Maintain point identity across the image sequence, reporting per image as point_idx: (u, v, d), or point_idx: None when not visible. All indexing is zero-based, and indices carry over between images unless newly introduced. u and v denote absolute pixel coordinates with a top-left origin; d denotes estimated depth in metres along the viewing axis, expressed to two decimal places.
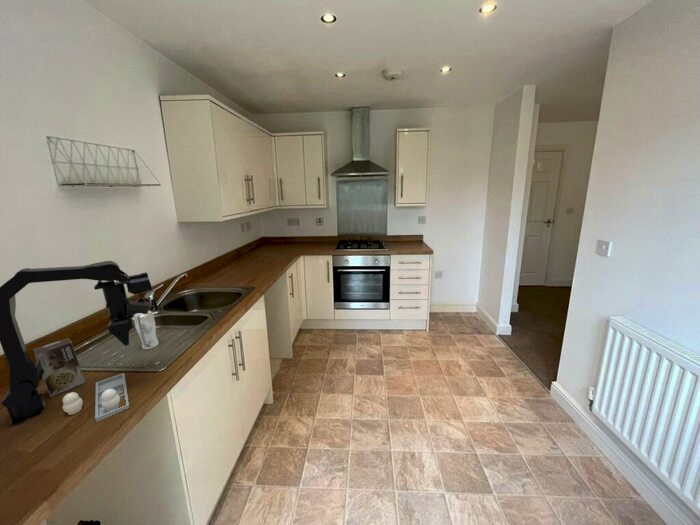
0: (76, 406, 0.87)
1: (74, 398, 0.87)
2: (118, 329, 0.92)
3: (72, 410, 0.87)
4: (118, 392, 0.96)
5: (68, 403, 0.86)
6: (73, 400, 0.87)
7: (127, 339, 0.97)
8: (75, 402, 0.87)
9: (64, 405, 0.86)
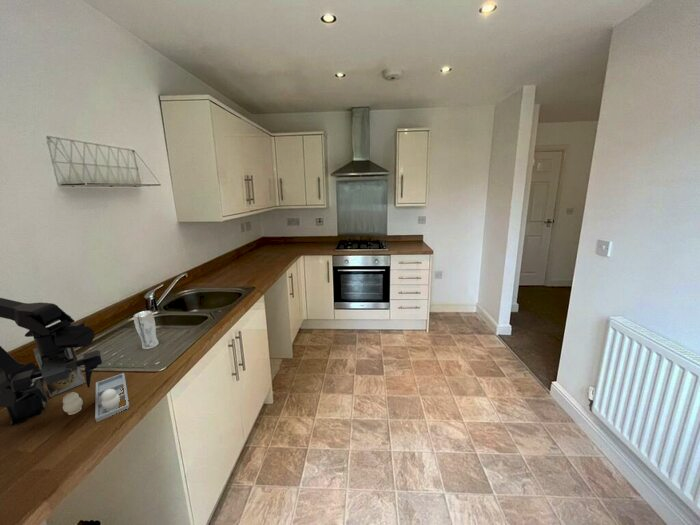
0: (76, 406, 0.87)
1: (74, 398, 0.87)
2: None
3: (72, 410, 0.87)
4: (118, 392, 0.96)
5: (68, 403, 0.86)
6: (73, 400, 0.87)
7: None
8: (75, 402, 0.87)
9: (64, 405, 0.86)
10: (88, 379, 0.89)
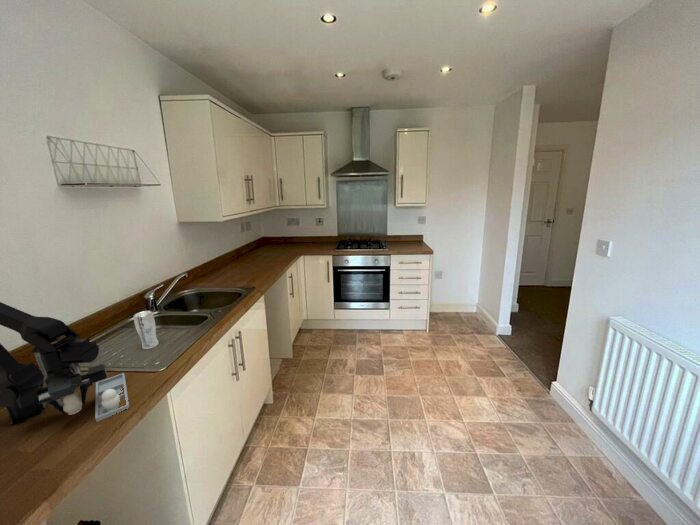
0: (76, 406, 0.87)
1: (74, 398, 0.87)
2: None
3: (72, 410, 0.87)
4: (118, 392, 0.96)
5: (68, 403, 0.86)
6: (73, 400, 0.87)
7: None
8: (75, 402, 0.87)
9: (64, 405, 0.86)
10: (83, 396, 0.89)
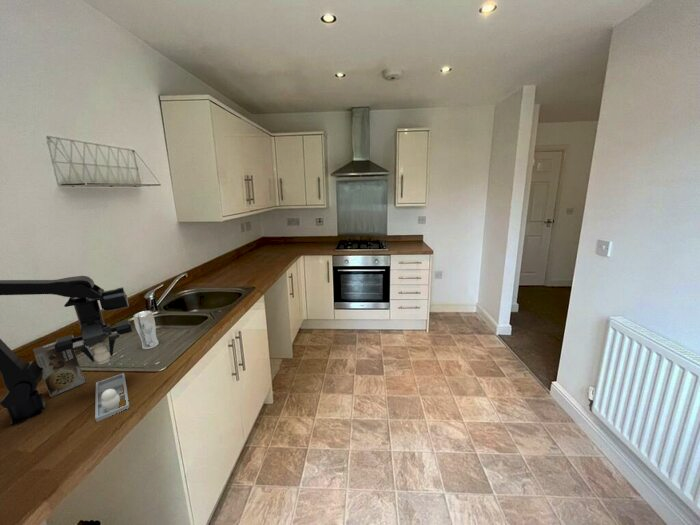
0: (105, 356, 0.96)
1: (103, 348, 0.95)
2: None
3: (101, 359, 0.95)
4: (118, 392, 0.96)
5: (98, 353, 0.94)
6: (102, 350, 0.95)
7: None
8: (104, 352, 0.96)
9: (94, 354, 0.94)
10: (111, 348, 0.97)
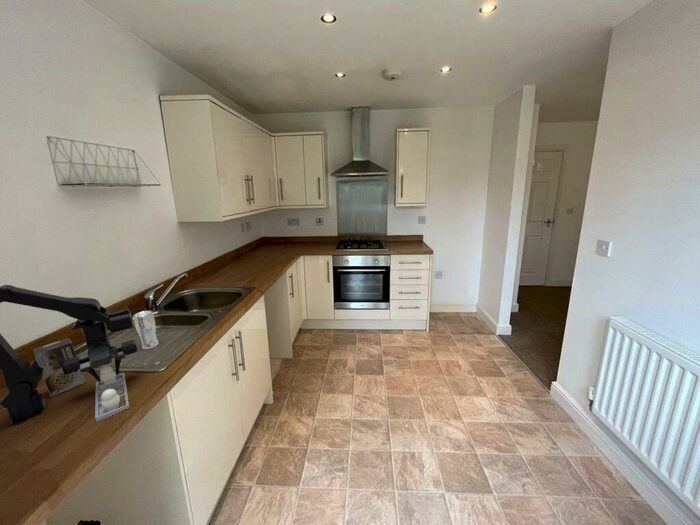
0: (111, 376, 0.98)
1: (109, 369, 0.97)
2: None
3: (108, 379, 0.97)
4: (118, 392, 0.96)
5: (104, 373, 0.96)
6: (109, 370, 0.97)
7: None
8: (110, 372, 0.98)
9: (101, 375, 0.96)
10: (117, 368, 0.99)
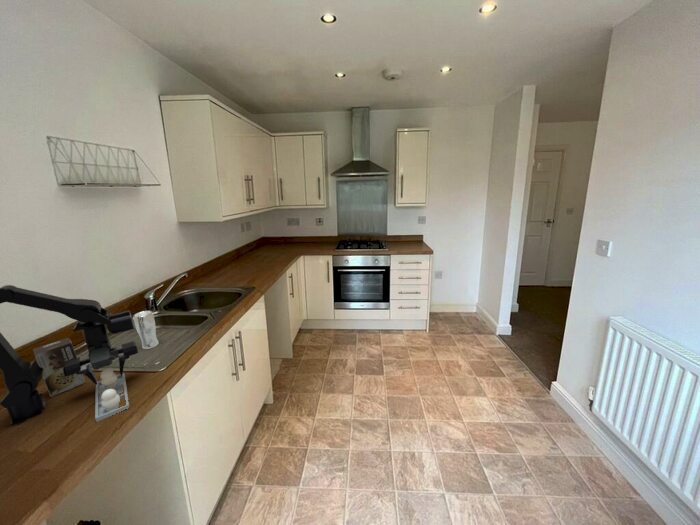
0: (112, 380, 0.98)
1: (110, 373, 0.98)
2: None
3: (109, 384, 0.97)
4: (118, 392, 0.96)
5: (105, 378, 0.97)
6: (109, 375, 0.97)
7: None
8: (111, 377, 0.98)
9: (102, 380, 0.97)
10: (121, 368, 1.00)
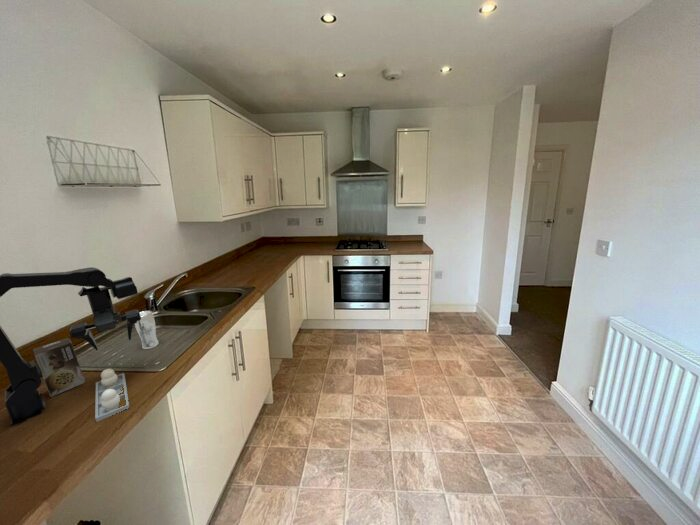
0: (113, 381, 0.98)
1: (111, 373, 0.98)
2: None
3: (109, 384, 0.97)
4: (118, 392, 0.96)
5: (105, 378, 0.97)
6: (110, 375, 0.98)
7: None
8: (112, 377, 0.98)
9: (102, 379, 0.97)
10: (129, 333, 1.04)
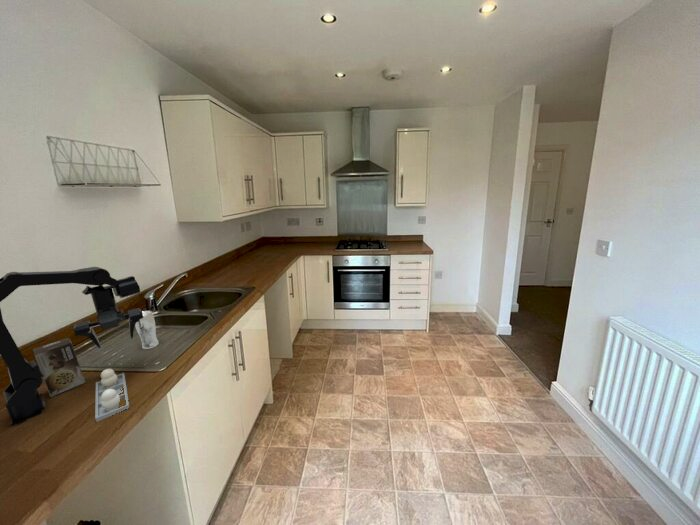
0: (113, 381, 0.98)
1: (111, 373, 0.98)
2: None
3: (109, 384, 0.97)
4: (118, 392, 0.96)
5: (105, 378, 0.97)
6: (110, 375, 0.98)
7: None
8: (112, 377, 0.98)
9: (102, 379, 0.97)
10: (132, 331, 1.07)
